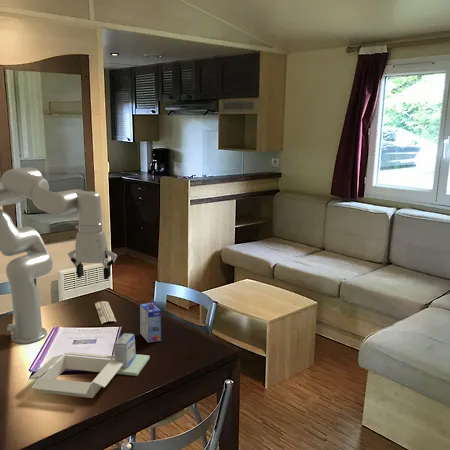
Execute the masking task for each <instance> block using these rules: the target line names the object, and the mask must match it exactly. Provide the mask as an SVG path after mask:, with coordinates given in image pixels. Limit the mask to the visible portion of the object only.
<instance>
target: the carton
mask: <svg viewBox="0 0 450 450" xmlns="http://www.w3.org/2000/svg"><path fill="white" fill-rule="evenodd" d="M114 358H115V356H114V355H106V354H95V353H94V354H93V353H85V352H84V353H83V352H73V351H72V352H71V351H69V352H65V353H64V354H59V355H55V356H52V357H51V358H50V359H49V360H48V361H46V363H44V365H42V366H41V367H40V368H38V370H37V371H36V372H35V373H33V374H32V375H31V376H30V377H29V378H28V380H33V379H36V380H35V382H34V384H33V385H32V387H31V390H38V391H39V392H40V393H43V394H44V393H45V394H51V395H59V396H60V395H62V396H71V397H80V398H88V399H89V398H90V399H93V398H94V397H95V396H96V394H97V393H98V392H99V391H100V390H101V388H104V389H105V387H107V385H108V384H109V383H110V382H111V380H113V378H114V376H116V373H117V372H118V370H119V369H120V368H121V367H122V365H123V364H122V363H120V362H118V361H116V360H113V359H114ZM111 359H112V360H111ZM66 369H67V370H74V371H75V370H77V371H85V372H86V371H87V372H95V373H97V372H98V374H97V375H96V377H95V378H94V379H93V380H92V381H91V382H89V381H87V382H86V381H79V380H68V379H58V377H59V376H60V375H61V374H62V373H64V371H65V370H66Z"/></svg>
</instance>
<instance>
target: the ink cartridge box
mask: <svg viewBox="0 0 450 450" xmlns="http://www.w3.org/2000/svg"><path fill="white" fill-rule="evenodd" d="M139 309H140V310H139V317H140V318H139V319H140V320H139V321H140V324H139V327H140V328H139V329H140V332H139V333H140V335H141V336H142V337H143V338H144V339H145V341H146V342H147V343H148V344H150V343H155V342H161V341H162V319H161V318H162V314H161V313H162V310H161V309H160V308H158V306H156V301H154V299H151V300H150V302H147V303H140V304H139Z"/></svg>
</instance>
